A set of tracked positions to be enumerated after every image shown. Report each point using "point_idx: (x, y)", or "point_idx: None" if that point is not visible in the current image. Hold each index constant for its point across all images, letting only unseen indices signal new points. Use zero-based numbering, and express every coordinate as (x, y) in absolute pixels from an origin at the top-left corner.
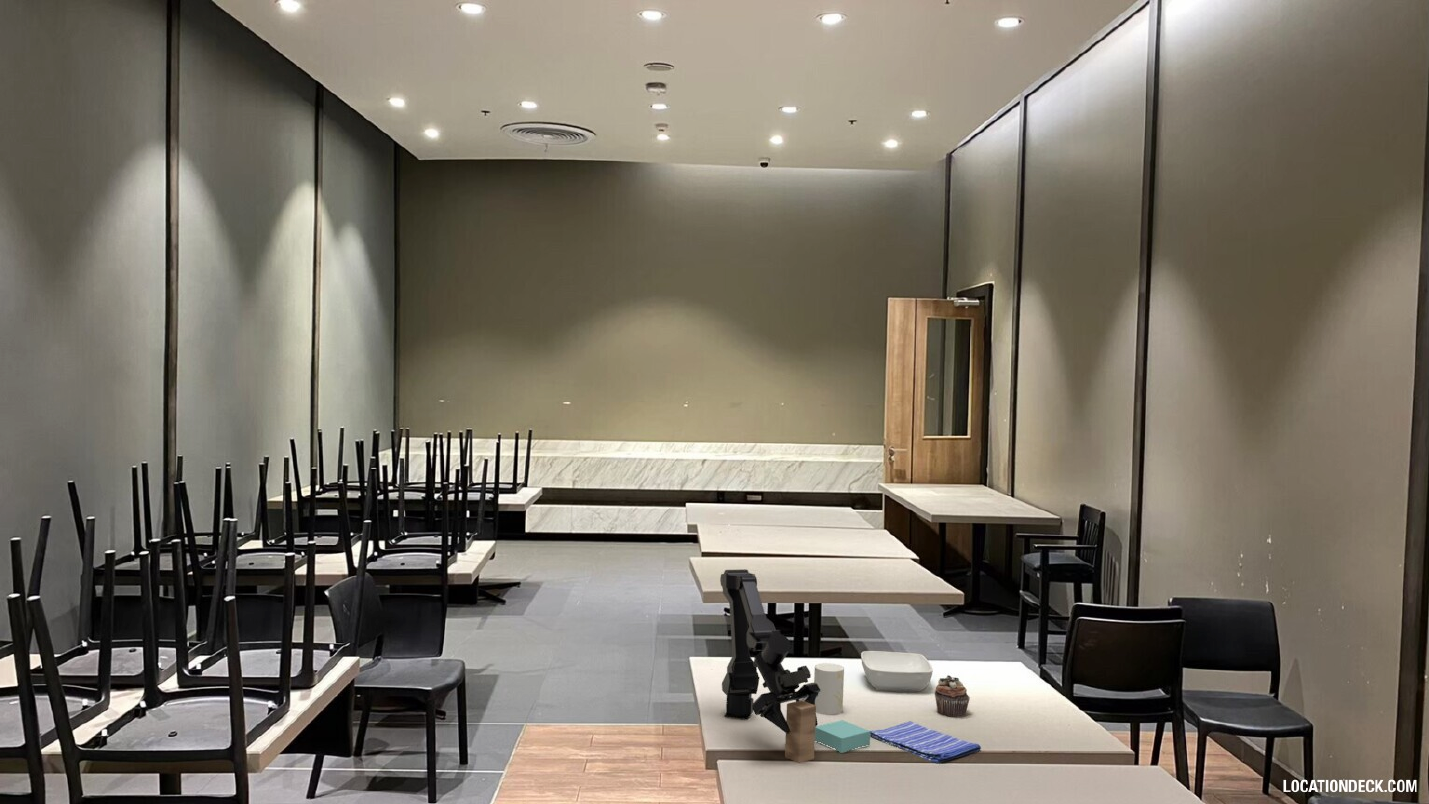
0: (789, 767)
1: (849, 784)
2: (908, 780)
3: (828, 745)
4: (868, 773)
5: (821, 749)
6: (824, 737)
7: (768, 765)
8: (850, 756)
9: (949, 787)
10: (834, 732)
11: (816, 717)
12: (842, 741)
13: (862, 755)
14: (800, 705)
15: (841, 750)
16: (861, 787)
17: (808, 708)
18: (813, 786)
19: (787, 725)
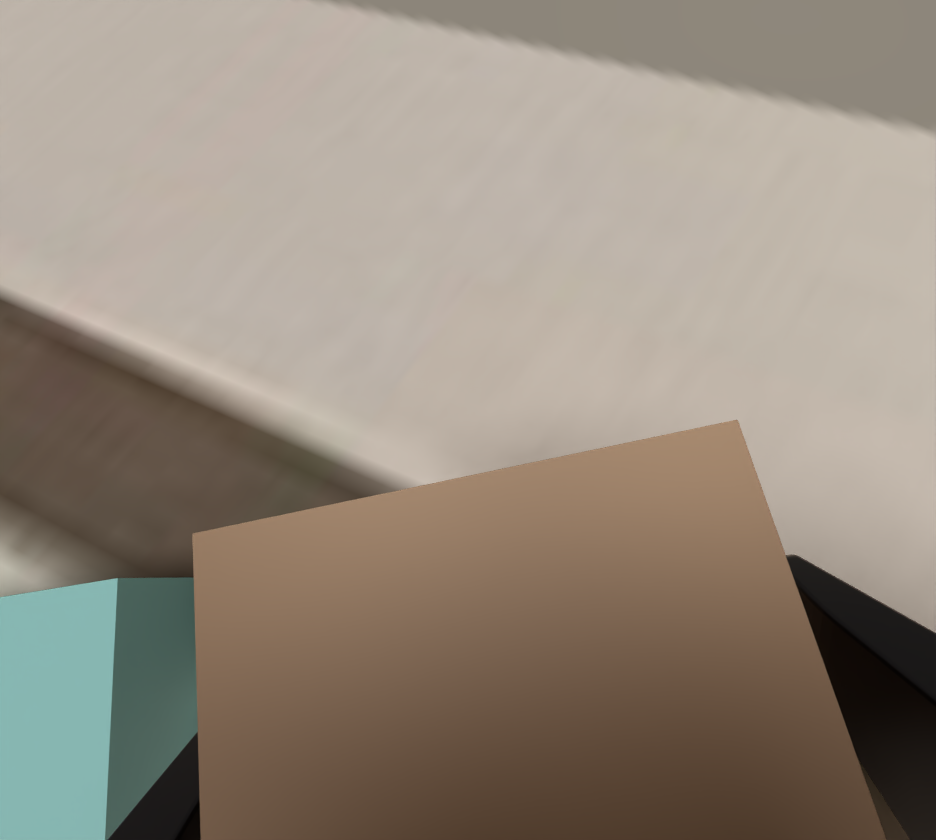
0: None
1: (489, 140)
2: (184, 106)
3: (188, 730)
4: (292, 231)
5: None
6: None
7: (864, 588)
8: (192, 494)
9: (97, 7)
10: (57, 753)
11: (197, 734)
12: (131, 580)
13: (116, 478)
14: (585, 741)
15: (186, 578)
16: (454, 95)
17: (466, 485)
18: (708, 171)
19: (844, 610)
